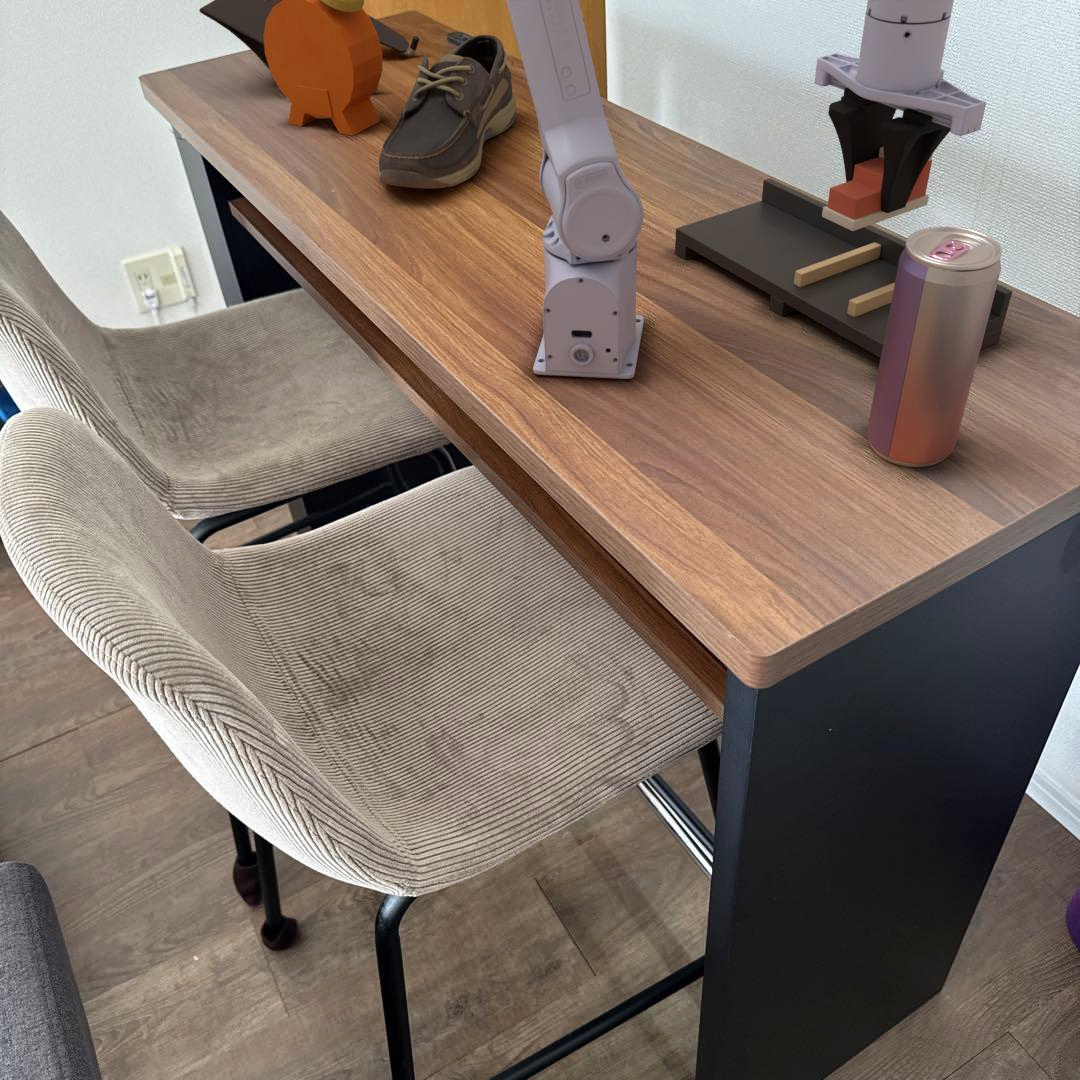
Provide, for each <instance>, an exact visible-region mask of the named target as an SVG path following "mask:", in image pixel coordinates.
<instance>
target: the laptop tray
mask: <svg viewBox="0 0 1080 1080" xmlns="http://www.w3.org/2000/svg"><path fill="white" fill-rule="evenodd" d="M281 1H282V0H273V1H270V2H266V1H265V0H212V1H210V2H209V3H206V5H204V6H202V7H200V8H199V10H198V11H199V13H200V14H202V15H204V16H205V17H207V18H208V19H210V20H212V21H214V22H215V23H217V24H218V25H220V26H221V27H223V28H225V29H226V30H227V31H229V32H230V33H231V34H233V35H234V36H235V37H236V38H237V39H238V40H240V41H241V42H242V43H243V44H244V45H245V46H247V48H248V49H249V50H250V51H252V52H253V53H254V54H255V56H257V57H258V58H259V60H260V61H261V62H262V63H263V64H264V65H265V67H267V69H268V70H269V71H270V68H269V65H268V62H267V58H266V55H265V47H264V36H263V35H264V30H265V24H266V19H267V17H268V15H269V14H270V12H271V10H272V8H273V7H274V6H275V5H277V4H278V3H279V2H281ZM367 15H368V16H369V18H370V20H371V22H372V24H373V26H374V28H375V30H376V32H377V34H378V38H379V42H380V45H382V46H384V47H387V48H389V49H391V50H393V51H395V52H396V53H398V54H401V55H403V56H405V57H412V56H413V55H414V54H415V53H416V50H417V47H418V45H419V42H420V37H418V36H417V35H414V36H413V37H412V40H411V43H409V41H408V39H407V38H406V37H405V36H403V35H402V34H400V33H399V32H397V31H396V30H395V29H392V28H391V27H389V26H387V25H386V24H384V22H383V23H382V22H381V21H379V20H377V19H376V18H374V17H373V16H371V15H369V14H368V13H367ZM381 78H382V76H381V77H380V79H381ZM376 91H377V89H376V90H375V91H374V93H375V92H376Z"/></svg>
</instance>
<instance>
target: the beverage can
mask: <svg viewBox="0 0 1080 1080" xmlns="http://www.w3.org/2000/svg"><path fill="white" fill-rule="evenodd" d="M905 241H906V244H905V249H904V250H903V252H902V254H901V256H900V259H899V264H898V270H897V275H896V280H895V285H894V291H893V296H892V301H891V306H890V312H889V317H888V322H887V328H886V333H885V338H884V343H883V349H882V354H881V358H880V359H879V366H878V371H877V376H876V381H875V386H874V390H873V396H872V402H871V408H870V414H869V419H868V422H867V427H866V439H867V440H868V443H869V445H870V447H871V448H872V450H873V451H874V452H875V453H876V454H877V455H878V456H879V457H880V458H882V459H883V460H885V461H887V462H889V463H892V464H895V465H898V466H901V467H908V468H926V467H930V466H934V465H938V464H939V463H941V462H942V461H944V460H945V459H946V458H948V457H949V456H950V455H951V454H952V453H953V452H954V450H955V448H956V445H957V441H958V439H959V438H958V437H959V435H960V434H959V433H960V430H961V426H962V422H963V418H964V416H965V415H964V414H965V410H966V406H967V402H968V400H969V395H970V391H971V387H972V383H973V379H974V375H975V371H976V368H977V364H978V361H979V356H980V352H981V350H982V349H981V345H982V341H983V337H984V333H985V330H986V326H987V322H988V318H989V314H990V310H991V306H992V302H993V299H994V295H995V291H996V287H997V284H998V283H999V279H1000V276H1001V272H1002V264H1001V257H1002V253H1003V249H1002V246H1001V244H1000V243H999V242H998V241H997V240H996V239H995V238H993V237H992V236H990V235H988V234H987V233H984V232H982V231H978V230H974V229H972V228H967V227H960V226H944V225H943V226H931V227H927V228H923V229H919V230H917V231H915V232H913V233H911V234H910V235H909V236H908V237H907V239H906V240H905ZM980 349H981V350H980Z"/></svg>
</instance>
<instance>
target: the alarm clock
mask: <svg viewBox="0 0 1080 1080" xmlns="http://www.w3.org/2000/svg"><path fill="white" fill-rule="evenodd" d="M265 1H266V2H270V1H273V0H265ZM364 5H365V0H282V1H281V2H279V3H278V4H277V5H275V6H274V7H273V8H272V10H271V12H270V14H269V15H268V17H267V19H266V24H265V30H264V35H263V36H264V47H265V55H266V58H267V62H268V65H269V68H270V70H269V71H270V74H271V75H272V77H273V79H274V81H275V83H276V85H277V87H278V88H279V90H280V91H281V93H282V94H283V95H284V96H285V97H286V99H287V100H288V101H289V102H290V103H291V104H290V112H289V119H288V124H289V125H294V126H299V127H302V126H304V125H307V124H309V123H310V122H312V121H315V120H316V119H331V120H332V122H333V124H334V126H335V128H336V130H337V131H338V134H340V135H341V134H342V135H348V136H354V135H357V134H358V133H360V132H363V131H364V130H366V129H368V128H370V127H371V126H374V125H376V124H378V123H379V122H381V120H380V118H379V115H378V113H377V111H376V109H375V107H374V105H373V103H372V100H371V97H372V96H373V94H374V93H375V92H376V91H377V89H378V87H379V83H380V80H381V78H382V73H383V49H382V46H381V44H380V42H379V38H378V34H377V32H376V30H375V28H374V26H373V24H372V22H371V20H370V18H369V16H370V15H369V14H368V13H367V12H366V11H365V10H364V8H363V7H364ZM367 14H368V15H369V16H368V15H367ZM380 77H381V78H380ZM375 90H376V91H375ZM374 91H375V92H374Z"/></svg>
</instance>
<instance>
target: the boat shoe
mask: <svg viewBox="0 0 1080 1080" xmlns="http://www.w3.org/2000/svg"><path fill="white" fill-rule="evenodd" d="M507 58H508V57H507V52H506V50H505V47H504V44H503V42H502V41H501V39H500V38H498V37H497V36H496V35H492V34H477V35H474V36H472V37H469V38H468V39H466V40H464V41H463V42H461V44H459V45H458V46H457V47H455V48H454V49H452V50H451V51H450V52H449V53H448V54H446V55H444V56H442V57H440V58H439V59H438V60H437V61H435V62H434V63H433V65H432V66H431V67H430V65H429V58H428V57H427V56H426V55H425V56H423V58H422V61H421V64H418V65H417V70H418V74H417V77H416V81H415V83H414V85H413V87H412V90H411V92H410V95H409V97H408V99H407V102H406V103H405V106H404V107H403V109H402V110H401V112H400V113H399V116H398V118H397V122H396V124H395V126H394V127H393V129H392V130H391V132H390V133H389V134H388V136H387V138H386V139H385V141H384V142H383V145H382V148H381V151H380V153H379V154H380V155H379V159H378V165H377V174H378V179H379V181H380V182H382V183H383V184H385V185H390V186H394V187H400V188H409V189H410V188H411V189H430V190H431V189H445V188H446V189H447V188H451V187H455V186H457V185H459V184H462V183H464V182H466V181H468V180H470V179H471V178H472V177H474V176H475V175H476V174H477V172H478V171H479V169H480V167H481V164H482V159H483V157H482V155H483V148H484V144H485V142H487V141H488V140H489V139H492V138H493V137H496V136H499V135H500V134H501V135H502V134H503V133H504V132H505V131H507V130H508V129H509V128H510V127H511V126H512V125H513V124H514V122H515V120H516V115H517V111H518V110H517V109H518V107H517V105H518V104H517V99H516V96H515V93H514V91H513V83H512V72H511V71H510V69H509V67H508V64H507Z"/></svg>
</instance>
